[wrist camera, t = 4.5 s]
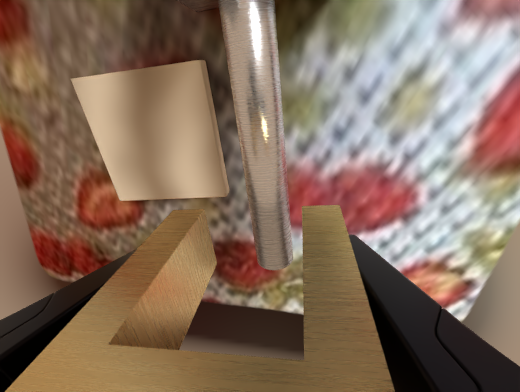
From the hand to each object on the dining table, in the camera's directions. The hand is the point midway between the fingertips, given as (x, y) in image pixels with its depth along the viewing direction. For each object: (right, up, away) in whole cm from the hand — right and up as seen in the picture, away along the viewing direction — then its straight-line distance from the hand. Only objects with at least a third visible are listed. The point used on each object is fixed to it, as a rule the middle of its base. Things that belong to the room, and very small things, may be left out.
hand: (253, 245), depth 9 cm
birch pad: (-7, +6, +10) cm, 13 cm away
